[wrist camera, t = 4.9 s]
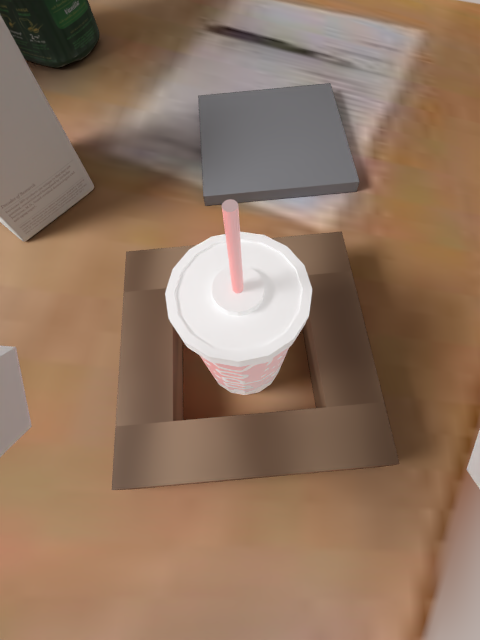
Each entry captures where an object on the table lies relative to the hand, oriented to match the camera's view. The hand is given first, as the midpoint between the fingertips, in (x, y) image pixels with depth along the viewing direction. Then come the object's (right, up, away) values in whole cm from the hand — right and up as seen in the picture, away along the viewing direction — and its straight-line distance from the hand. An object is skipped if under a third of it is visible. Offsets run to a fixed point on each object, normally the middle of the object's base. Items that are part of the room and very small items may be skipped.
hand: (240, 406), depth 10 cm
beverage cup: (0, 0, +13) cm, 13 cm away
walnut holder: (0, 0, +13) cm, 13 cm away
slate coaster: (+3, +17, +21) cm, 27 cm away
